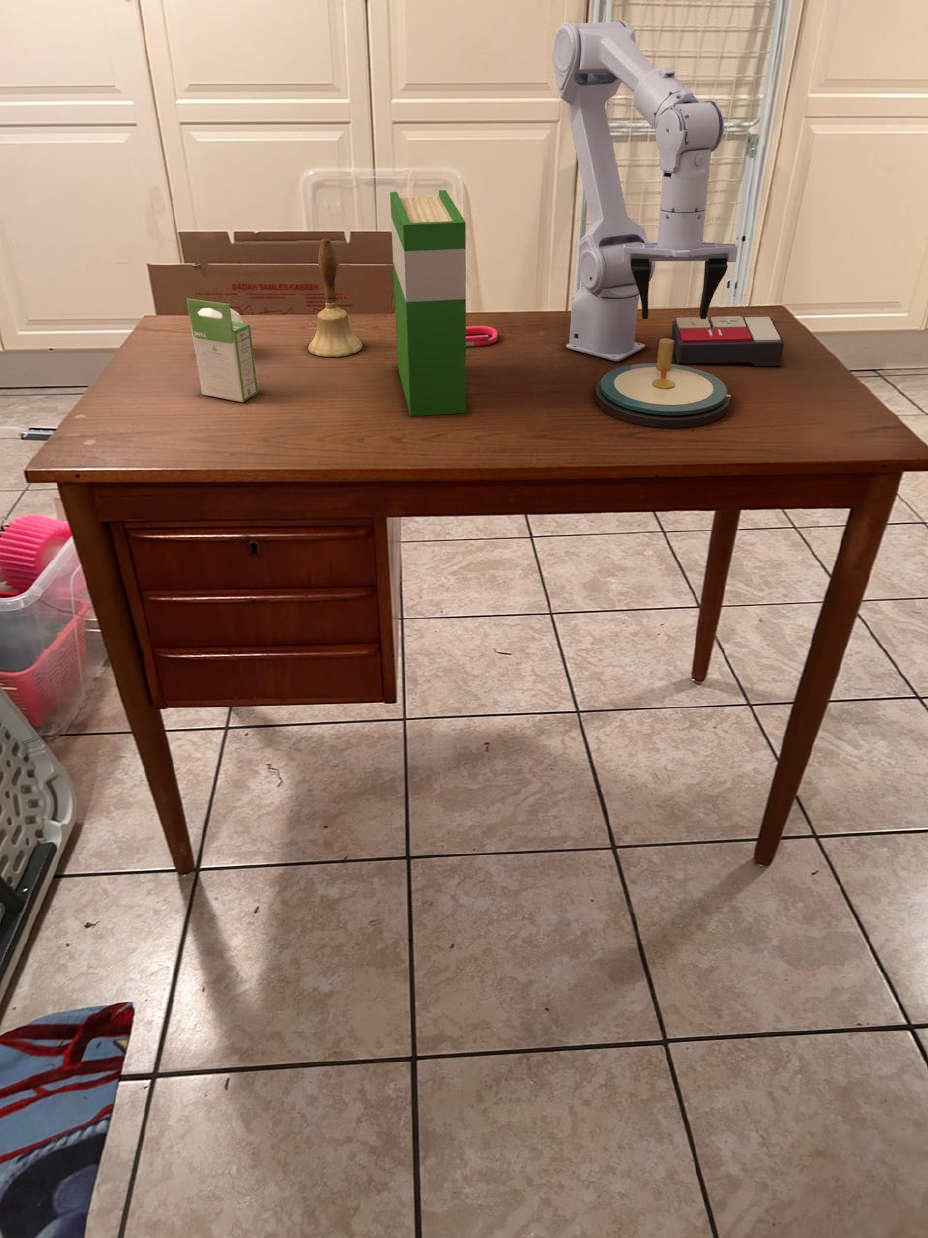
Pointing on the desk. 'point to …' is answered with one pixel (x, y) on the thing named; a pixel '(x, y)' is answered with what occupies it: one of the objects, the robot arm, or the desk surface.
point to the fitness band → (482, 338)
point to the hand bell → (332, 314)
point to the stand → (660, 420)
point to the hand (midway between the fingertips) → (673, 317)
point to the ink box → (223, 353)
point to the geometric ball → (214, 313)
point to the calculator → (727, 340)
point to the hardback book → (430, 302)
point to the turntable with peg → (663, 386)
